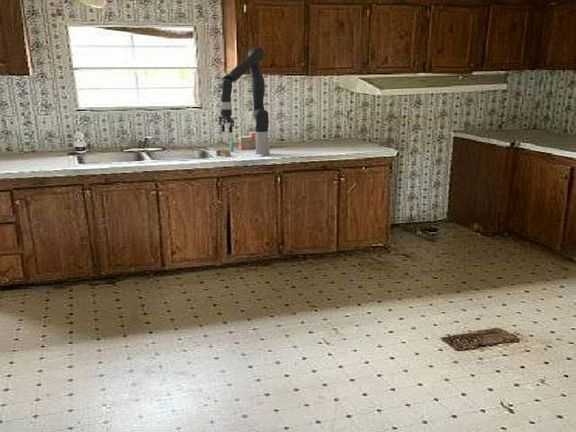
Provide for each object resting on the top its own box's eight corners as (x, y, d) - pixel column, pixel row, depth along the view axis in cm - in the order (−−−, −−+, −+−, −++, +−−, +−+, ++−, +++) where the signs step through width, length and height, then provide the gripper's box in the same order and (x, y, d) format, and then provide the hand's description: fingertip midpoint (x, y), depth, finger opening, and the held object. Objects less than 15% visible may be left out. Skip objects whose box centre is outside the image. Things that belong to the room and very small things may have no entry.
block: (225, 154, 402) (225, 149, 400) (230, 155, 398) (230, 150, 397) (220, 156, 398) (219, 150, 397) (225, 156, 394) (224, 151, 393)
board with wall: (223, 155, 405) (223, 149, 403) (231, 157, 399) (231, 150, 398) (216, 157, 400) (215, 150, 398) (224, 158, 394) (223, 151, 393)
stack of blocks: (241, 149, 429) (240, 133, 426) (239, 148, 435) (238, 132, 432) (267, 147, 436) (266, 131, 432) (265, 146, 442) (264, 130, 438)
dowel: (232, 153, 415) (231, 141, 413) (234, 153, 414) (233, 141, 411) (230, 153, 414) (229, 141, 411) (232, 153, 412) (231, 141, 410)
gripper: (236, 108, 379) (237, 132, 383) (224, 107, 389) (225, 130, 393) (227, 109, 374) (228, 133, 378) (215, 108, 384) (216, 131, 388)
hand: (226, 132), depth 386 cm, fingers open, 8 cm apart
